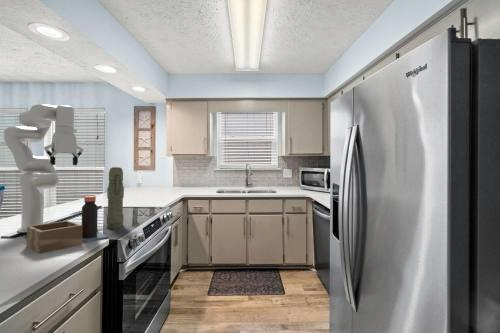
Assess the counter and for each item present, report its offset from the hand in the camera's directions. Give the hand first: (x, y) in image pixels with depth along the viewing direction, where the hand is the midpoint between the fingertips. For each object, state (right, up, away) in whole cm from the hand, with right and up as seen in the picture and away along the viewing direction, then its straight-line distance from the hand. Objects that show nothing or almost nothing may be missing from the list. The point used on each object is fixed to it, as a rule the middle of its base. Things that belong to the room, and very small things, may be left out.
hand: (64, 164), depth 139 cm
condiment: (+5, -37, +16) cm, 40 cm away
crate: (+4, -37, -13) cm, 39 cm away
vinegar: (+13, -36, -1) cm, 38 cm away
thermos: (+13, -37, +25) cm, 46 cm away
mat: (+13, -37, 0) cm, 39 cm away
